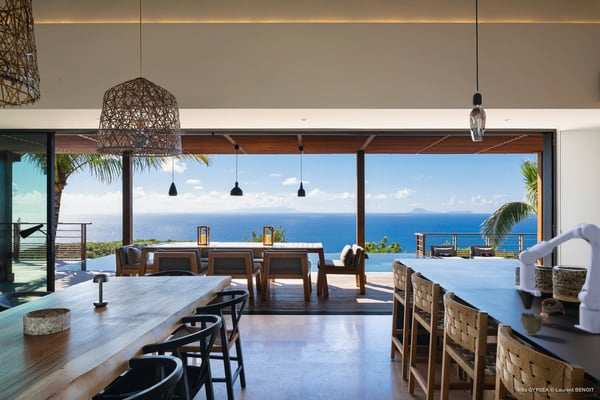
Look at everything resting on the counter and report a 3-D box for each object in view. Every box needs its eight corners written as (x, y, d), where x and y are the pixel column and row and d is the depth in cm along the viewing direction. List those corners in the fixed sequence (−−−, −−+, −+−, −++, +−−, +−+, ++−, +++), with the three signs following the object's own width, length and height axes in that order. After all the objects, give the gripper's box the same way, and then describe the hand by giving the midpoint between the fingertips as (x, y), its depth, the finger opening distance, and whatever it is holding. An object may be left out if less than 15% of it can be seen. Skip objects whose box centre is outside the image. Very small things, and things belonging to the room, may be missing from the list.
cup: (522, 330, 155) (522, 311, 156) (544, 334, 151) (544, 314, 151) (519, 335, 150) (519, 314, 150) (541, 339, 145) (541, 318, 145)
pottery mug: (571, 317, 178) (565, 303, 177) (551, 325, 179) (545, 311, 178) (555, 305, 190) (550, 291, 188) (537, 312, 191) (531, 298, 190)
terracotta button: (549, 318, 166) (549, 314, 166) (543, 318, 166) (543, 314, 166) (545, 316, 169) (545, 312, 169) (538, 316, 169) (538, 312, 169)
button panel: (551, 324, 165) (551, 321, 165) (527, 324, 164) (527, 321, 164) (544, 321, 170) (543, 318, 170) (520, 321, 169) (520, 318, 169)
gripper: (508, 275, 175) (508, 305, 174) (529, 281, 160) (529, 313, 160) (523, 275, 175) (523, 305, 175) (545, 281, 160) (545, 313, 160)
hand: (527, 309), depth 167 cm, fingers closed
